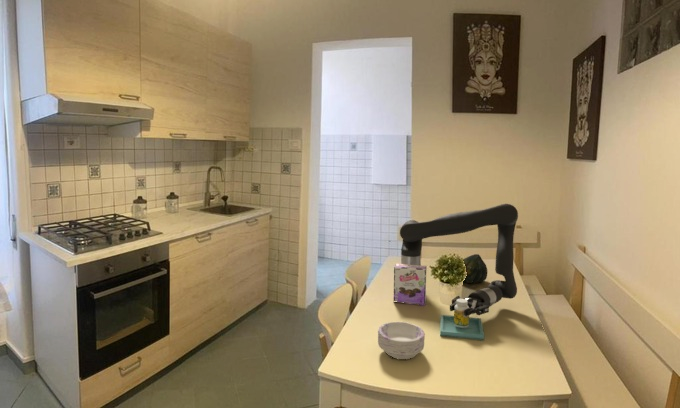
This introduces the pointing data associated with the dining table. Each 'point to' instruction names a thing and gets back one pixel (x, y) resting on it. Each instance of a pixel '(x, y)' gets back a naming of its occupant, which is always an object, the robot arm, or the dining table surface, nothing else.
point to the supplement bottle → (461, 313)
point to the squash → (475, 269)
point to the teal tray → (453, 331)
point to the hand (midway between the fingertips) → (457, 310)
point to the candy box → (410, 283)
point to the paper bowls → (401, 339)
